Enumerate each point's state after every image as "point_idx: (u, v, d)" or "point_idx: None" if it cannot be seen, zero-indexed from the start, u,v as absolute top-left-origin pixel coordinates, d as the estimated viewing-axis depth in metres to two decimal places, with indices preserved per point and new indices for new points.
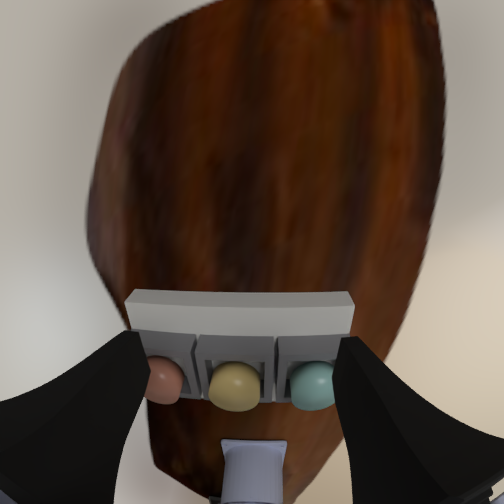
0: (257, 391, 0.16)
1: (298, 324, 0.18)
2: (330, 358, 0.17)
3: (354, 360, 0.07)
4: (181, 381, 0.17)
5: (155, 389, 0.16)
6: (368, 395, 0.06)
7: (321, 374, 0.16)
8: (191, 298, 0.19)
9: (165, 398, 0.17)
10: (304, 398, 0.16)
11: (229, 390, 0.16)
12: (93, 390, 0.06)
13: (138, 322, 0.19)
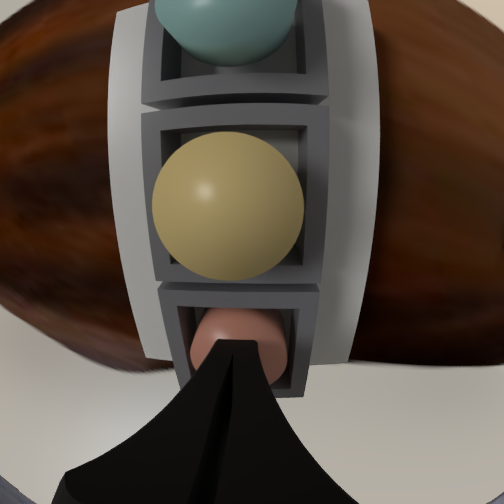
0: (194, 140, 0.05)
1: (138, 81, 0.08)
2: None
3: (233, 363, 0.07)
4: None
5: None
6: None
7: None
8: None
9: (262, 349, 0.09)
10: (227, 12, 0.04)
11: (191, 221, 0.06)
12: (217, 412, 0.06)
13: None
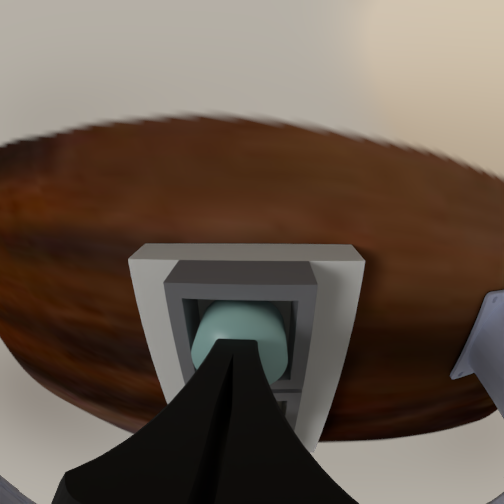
0: None
1: (169, 332, 0.12)
2: (183, 324, 0.10)
3: (233, 363, 0.07)
4: None
5: None
6: None
7: None
8: None
9: None
10: None
11: None
12: (217, 412, 0.06)
13: None
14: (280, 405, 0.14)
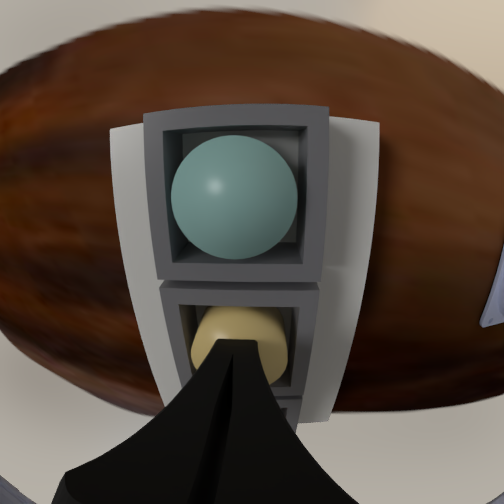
0: (217, 323, 0.09)
1: (146, 222, 0.10)
2: (160, 169, 0.07)
3: (233, 363, 0.07)
4: None
5: None
6: None
7: None
8: None
9: None
10: (236, 228, 0.07)
11: None
12: (216, 412, 0.06)
13: None
14: (287, 340, 0.12)
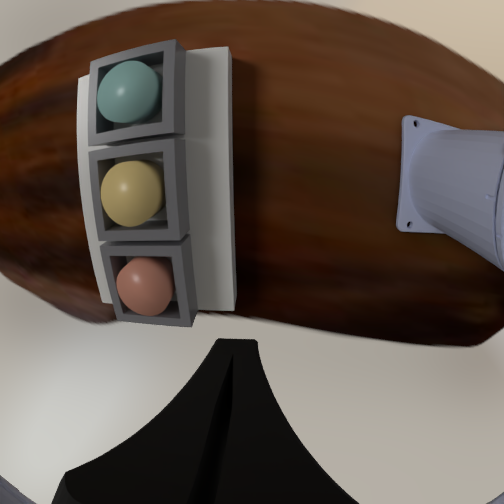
0: (115, 166, 0.12)
1: None
2: (95, 86, 0.11)
3: (233, 363, 0.07)
4: (142, 256, 0.15)
5: (140, 290, 0.15)
6: None
7: None
8: None
9: (153, 282, 0.14)
10: (124, 104, 0.11)
11: (115, 200, 0.13)
12: (217, 412, 0.06)
13: None
14: None
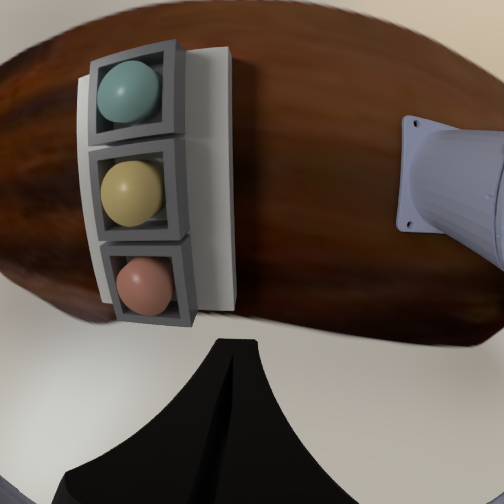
0: (115, 166, 0.12)
1: None
2: (95, 86, 0.11)
3: (233, 363, 0.07)
4: (142, 256, 0.15)
5: (140, 290, 0.15)
6: None
7: None
8: None
9: (153, 282, 0.14)
10: (124, 104, 0.11)
11: (115, 200, 0.13)
12: (217, 412, 0.06)
13: None
14: None
